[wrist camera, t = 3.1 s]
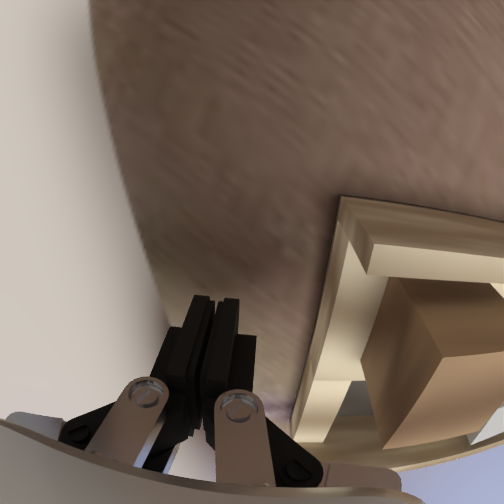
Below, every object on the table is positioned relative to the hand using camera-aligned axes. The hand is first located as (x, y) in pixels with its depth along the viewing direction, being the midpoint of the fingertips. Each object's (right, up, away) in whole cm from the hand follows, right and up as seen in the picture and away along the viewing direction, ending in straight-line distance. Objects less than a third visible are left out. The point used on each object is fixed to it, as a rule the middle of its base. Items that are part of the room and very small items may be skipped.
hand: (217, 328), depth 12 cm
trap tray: (+14, -3, +4) cm, 15 cm away
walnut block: (+9, 0, +1) cm, 9 cm away
